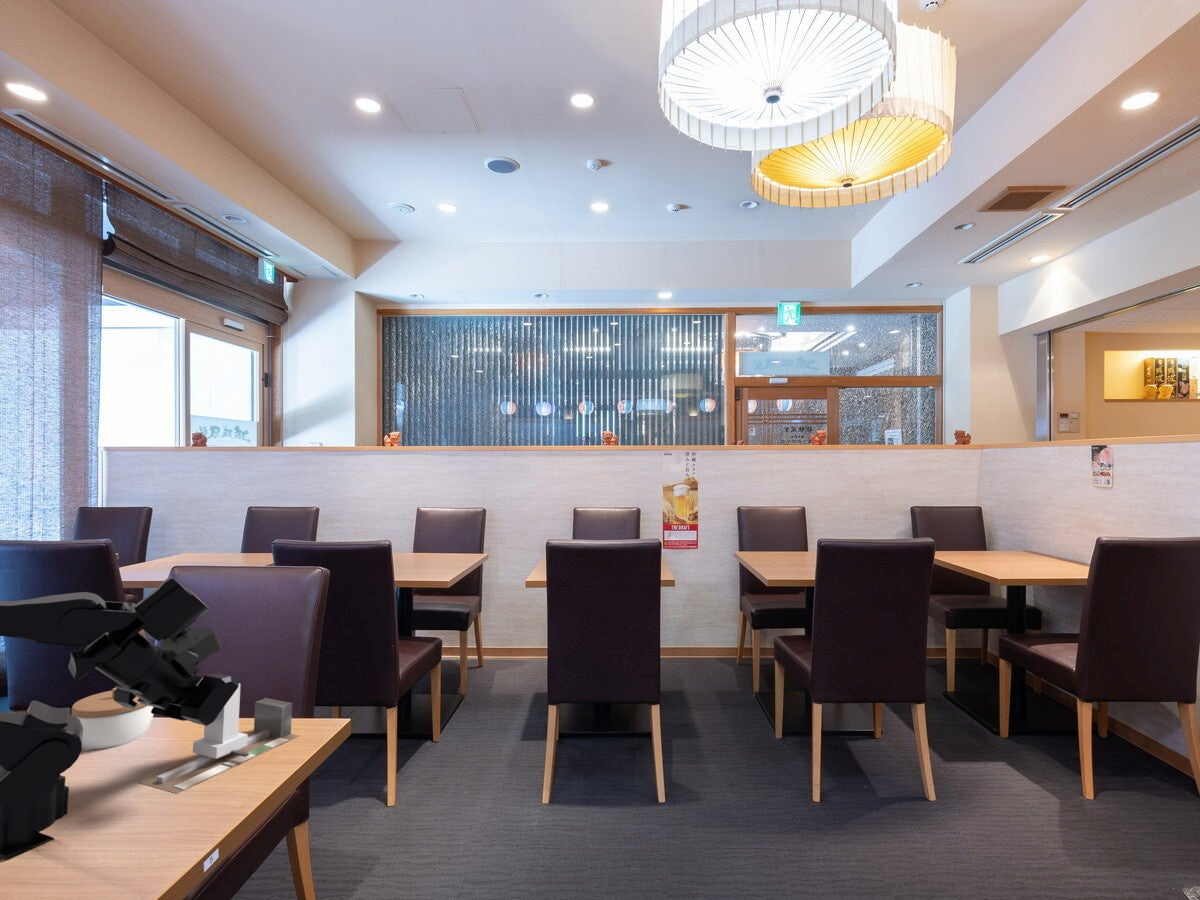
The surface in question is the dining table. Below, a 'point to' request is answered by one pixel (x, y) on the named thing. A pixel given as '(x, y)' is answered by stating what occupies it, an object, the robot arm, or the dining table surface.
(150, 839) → the dining table surface
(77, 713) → the lidded jar
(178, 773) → the base
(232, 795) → the dining table surface
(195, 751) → the slider
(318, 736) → the dining table surface
